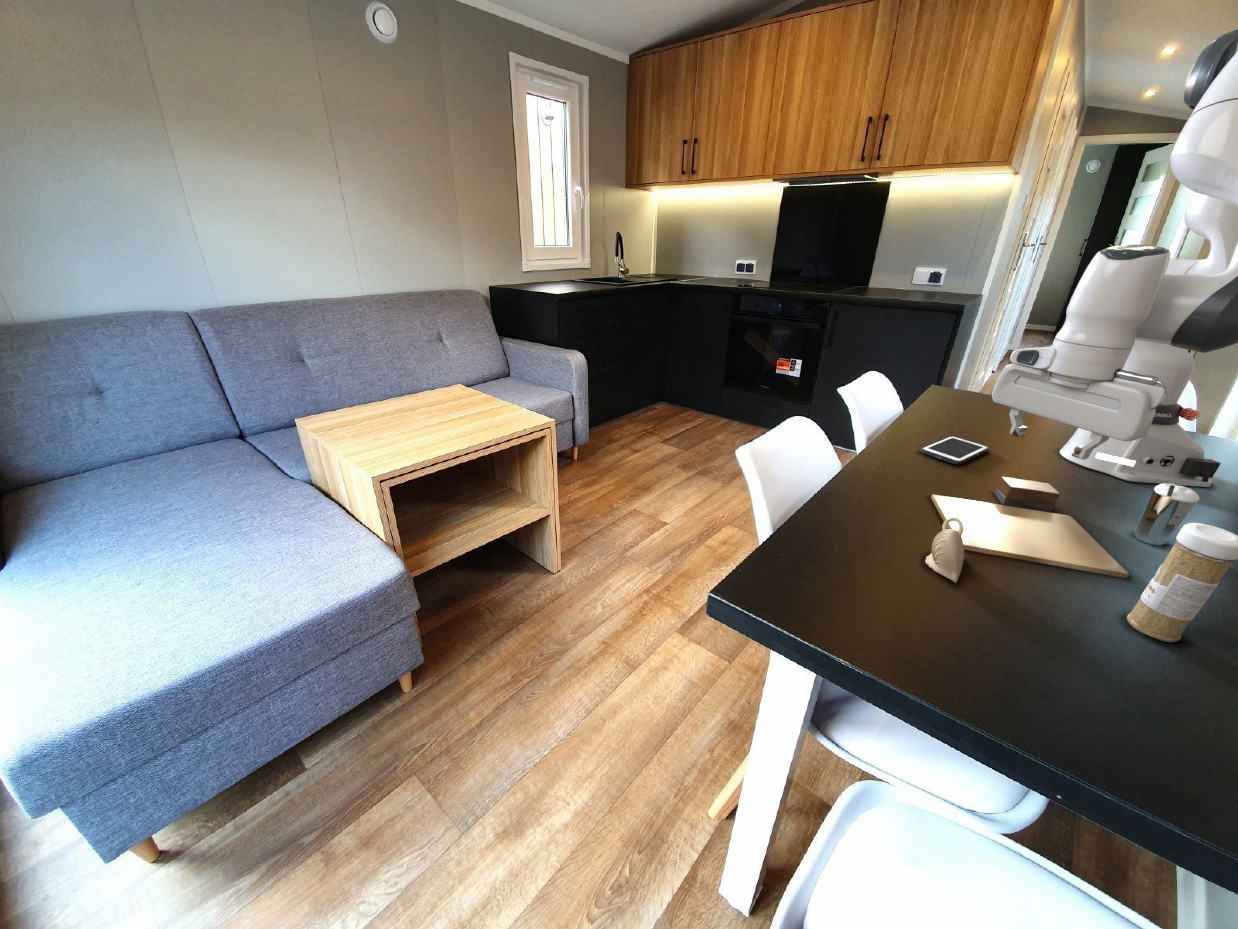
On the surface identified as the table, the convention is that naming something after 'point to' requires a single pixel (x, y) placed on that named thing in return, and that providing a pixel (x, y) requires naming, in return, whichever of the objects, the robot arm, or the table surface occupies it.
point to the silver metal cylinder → (1165, 513)
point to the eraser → (1026, 494)
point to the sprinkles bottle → (1184, 581)
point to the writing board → (1027, 535)
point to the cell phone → (954, 450)
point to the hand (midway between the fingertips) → (1046, 446)
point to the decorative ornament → (947, 551)
